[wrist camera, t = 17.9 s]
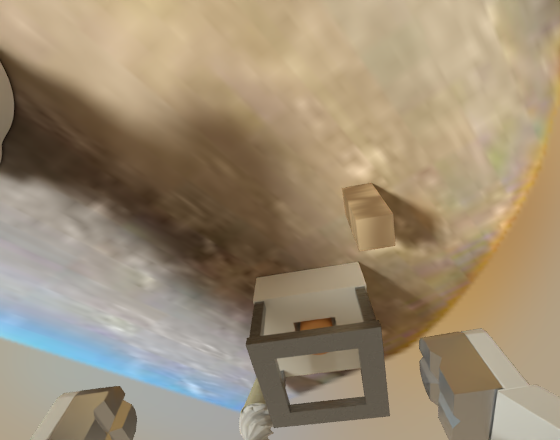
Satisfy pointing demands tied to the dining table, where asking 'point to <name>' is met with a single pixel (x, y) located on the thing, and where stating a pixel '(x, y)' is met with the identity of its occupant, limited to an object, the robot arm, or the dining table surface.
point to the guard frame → (313, 342)
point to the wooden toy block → (368, 217)
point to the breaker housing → (312, 311)
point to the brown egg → (316, 325)
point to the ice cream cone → (255, 416)
